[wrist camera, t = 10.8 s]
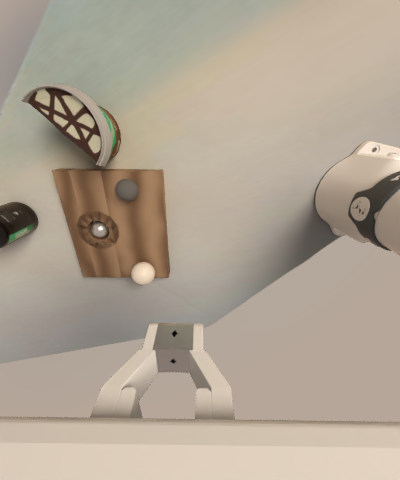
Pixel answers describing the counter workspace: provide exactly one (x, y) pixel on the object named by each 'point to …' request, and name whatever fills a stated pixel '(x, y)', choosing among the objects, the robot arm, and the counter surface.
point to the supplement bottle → (15, 222)
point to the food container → (78, 119)
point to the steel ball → (99, 229)
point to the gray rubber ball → (126, 190)
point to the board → (115, 220)
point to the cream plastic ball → (143, 273)
